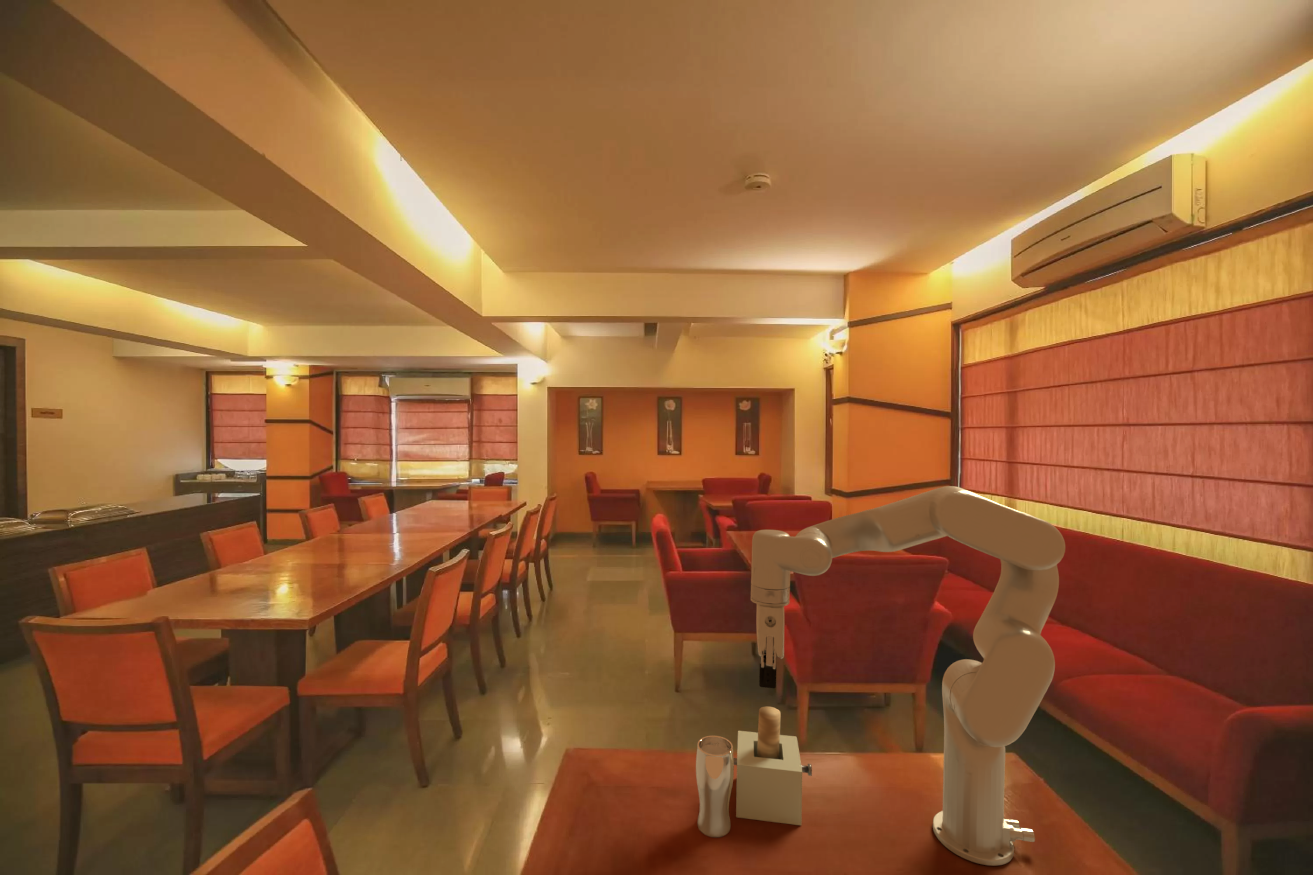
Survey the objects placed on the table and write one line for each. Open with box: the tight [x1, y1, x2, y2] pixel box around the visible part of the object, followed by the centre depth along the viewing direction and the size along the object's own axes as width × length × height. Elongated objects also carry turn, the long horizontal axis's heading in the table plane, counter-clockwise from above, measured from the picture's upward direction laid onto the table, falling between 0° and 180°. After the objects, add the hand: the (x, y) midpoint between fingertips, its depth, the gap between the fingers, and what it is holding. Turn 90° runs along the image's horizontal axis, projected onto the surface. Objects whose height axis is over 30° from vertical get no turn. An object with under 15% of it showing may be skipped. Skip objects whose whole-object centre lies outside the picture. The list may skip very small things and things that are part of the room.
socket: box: [735, 730, 803, 826], centre depth 109 cm, size 12×12×10 cm
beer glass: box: [695, 735, 735, 838], centre depth 101 cm, size 7×7×15 cm
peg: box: [757, 706, 782, 759], centre depth 109 cm, size 4×4×10 cm
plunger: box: [801, 763, 813, 777], centre depth 108 cm, size 6×2×2 cm, turn 80°
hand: (767, 685), depth 109 cm, fingers closed
